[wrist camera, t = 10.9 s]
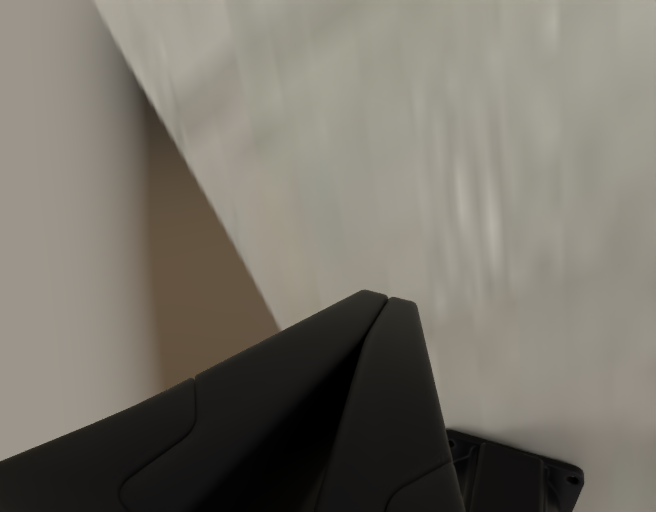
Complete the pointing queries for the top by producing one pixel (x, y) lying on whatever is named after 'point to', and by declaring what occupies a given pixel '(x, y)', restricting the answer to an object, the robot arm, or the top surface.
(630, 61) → the top surface
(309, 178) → the top surface
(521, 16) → the top surface
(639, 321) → the top surface
